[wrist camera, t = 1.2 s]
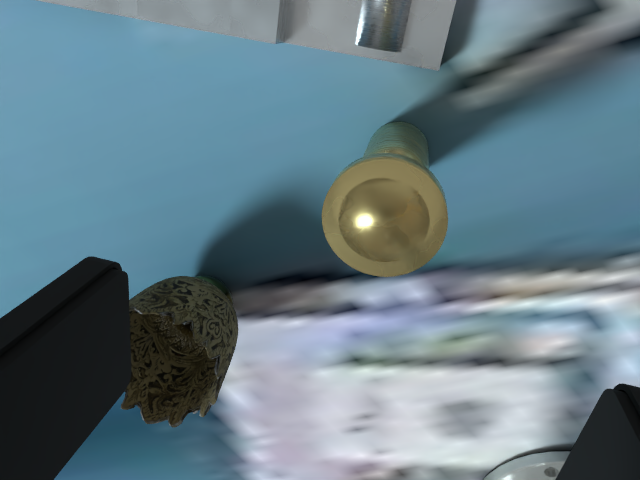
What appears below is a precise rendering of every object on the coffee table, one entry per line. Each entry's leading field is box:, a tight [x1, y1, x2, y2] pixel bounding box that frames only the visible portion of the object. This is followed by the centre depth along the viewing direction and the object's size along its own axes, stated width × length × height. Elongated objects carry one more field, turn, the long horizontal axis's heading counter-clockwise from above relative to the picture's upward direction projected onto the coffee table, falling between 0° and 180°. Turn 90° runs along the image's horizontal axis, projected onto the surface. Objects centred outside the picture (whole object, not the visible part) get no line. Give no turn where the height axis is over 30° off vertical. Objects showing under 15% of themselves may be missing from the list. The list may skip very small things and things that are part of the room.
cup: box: [121, 275, 238, 427], centre depth 29 cm, size 8×7×8 cm
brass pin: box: [322, 122, 448, 277], centre depth 21 cm, size 4×4×10 cm
